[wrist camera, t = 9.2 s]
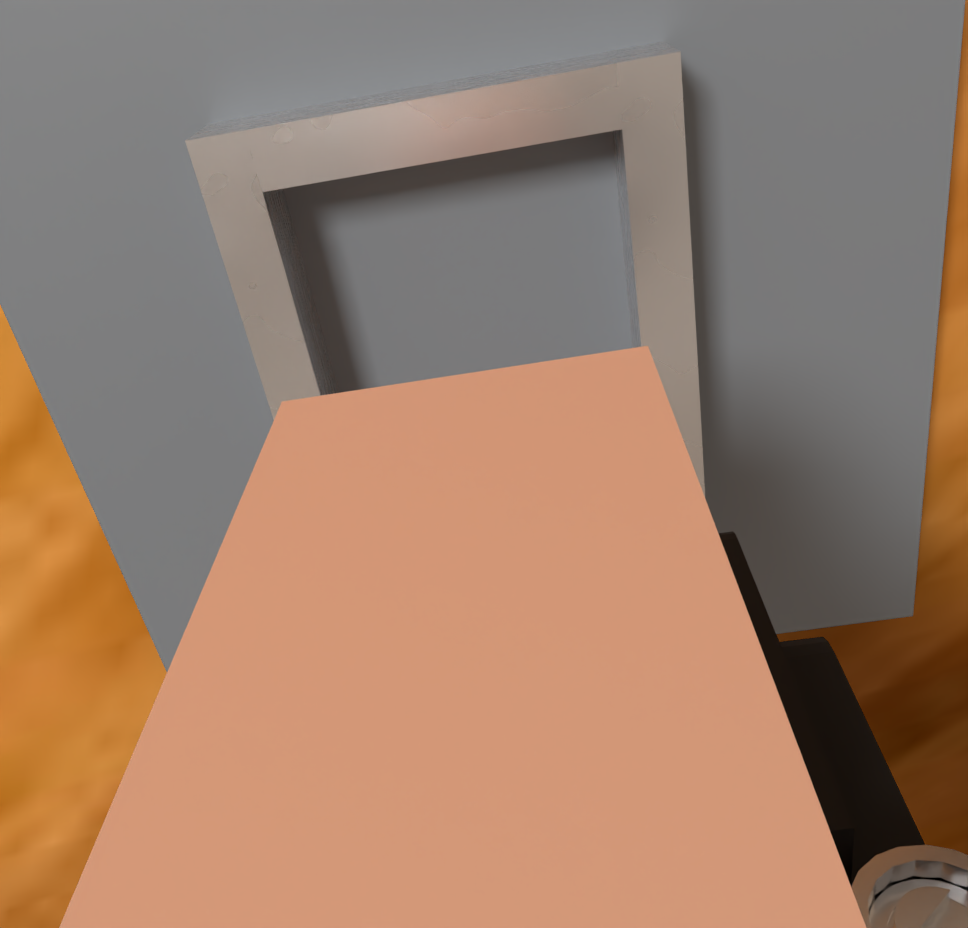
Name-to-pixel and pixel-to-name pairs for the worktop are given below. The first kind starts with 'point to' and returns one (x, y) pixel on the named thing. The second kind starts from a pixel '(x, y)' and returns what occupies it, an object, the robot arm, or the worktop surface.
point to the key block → (470, 685)
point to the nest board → (487, 246)
